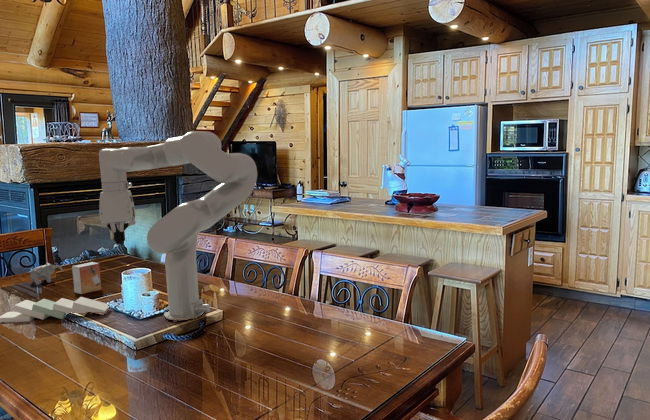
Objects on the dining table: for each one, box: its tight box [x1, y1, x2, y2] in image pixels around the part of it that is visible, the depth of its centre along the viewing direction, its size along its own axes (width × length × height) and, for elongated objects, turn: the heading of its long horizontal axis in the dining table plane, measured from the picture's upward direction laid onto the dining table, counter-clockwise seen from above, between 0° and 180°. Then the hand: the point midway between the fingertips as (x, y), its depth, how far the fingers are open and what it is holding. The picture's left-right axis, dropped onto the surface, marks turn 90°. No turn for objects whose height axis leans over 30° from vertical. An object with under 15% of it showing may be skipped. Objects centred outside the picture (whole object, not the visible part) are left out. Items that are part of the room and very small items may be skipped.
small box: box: [71, 261, 102, 295], centre depth 188 cm, size 8×6×10 cm
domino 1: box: [0, 311, 36, 323], centre depth 159 cm, size 2×6×10 cm
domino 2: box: [12, 299, 51, 321], centre depth 160 cm, size 2×6×10 cm
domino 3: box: [32, 298, 66, 320], centre depth 160 cm, size 2×6×10 cm
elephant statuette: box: [29, 262, 64, 286], centre depth 204 cm, size 9×12×8 cm
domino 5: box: [72, 296, 109, 312], centre depth 161 cm, size 2×6×10 cm
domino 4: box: [53, 297, 86, 315], centre depth 161 cm, size 2×6×10 cm
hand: (120, 243), depth 160 cm, fingers closed
